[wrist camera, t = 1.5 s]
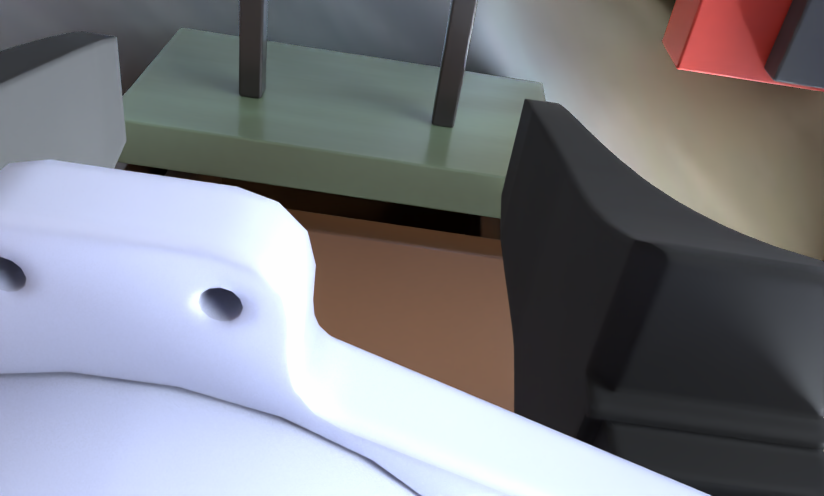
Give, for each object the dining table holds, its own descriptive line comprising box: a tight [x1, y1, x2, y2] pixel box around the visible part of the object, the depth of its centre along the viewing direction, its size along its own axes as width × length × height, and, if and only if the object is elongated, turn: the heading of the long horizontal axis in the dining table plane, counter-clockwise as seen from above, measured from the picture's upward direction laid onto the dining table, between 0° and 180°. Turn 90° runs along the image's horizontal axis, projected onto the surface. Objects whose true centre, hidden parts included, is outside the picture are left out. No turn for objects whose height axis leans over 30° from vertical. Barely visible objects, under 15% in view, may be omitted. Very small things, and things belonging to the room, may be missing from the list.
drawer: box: [117, 0, 546, 240], centre depth 23 cm, size 17×11×6 cm, turn 172°
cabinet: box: [114, 162, 514, 413], centre depth 26 cm, size 13×12×8 cm
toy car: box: [662, 0, 824, 92], centre depth 21 cm, size 7×4×4 cm, turn 82°
